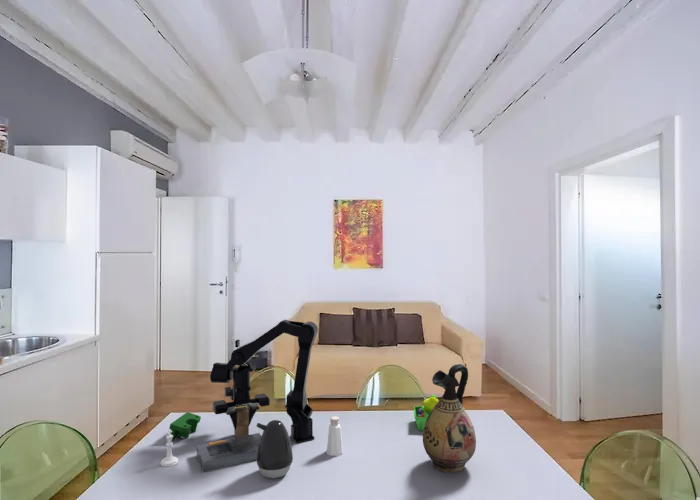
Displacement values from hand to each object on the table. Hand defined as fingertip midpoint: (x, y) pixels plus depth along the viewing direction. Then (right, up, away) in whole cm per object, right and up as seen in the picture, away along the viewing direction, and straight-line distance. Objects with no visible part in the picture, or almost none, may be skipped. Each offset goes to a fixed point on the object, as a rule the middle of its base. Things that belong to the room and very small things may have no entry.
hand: (241, 428), depth 147 cm
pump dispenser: (+16, -2, -26) cm, 31 cm away
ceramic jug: (+68, -2, -21) cm, 71 cm away
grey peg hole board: (+1, -2, -15) cm, 15 cm away
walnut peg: (0, -3, 0) cm, 2 cm away
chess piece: (-17, -3, -19) cm, 26 cm away
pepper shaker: (+33, -2, -13) cm, 36 cm away
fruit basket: (+66, -3, +8) cm, 67 cm away
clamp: (-20, -3, +1) cm, 20 cm away
